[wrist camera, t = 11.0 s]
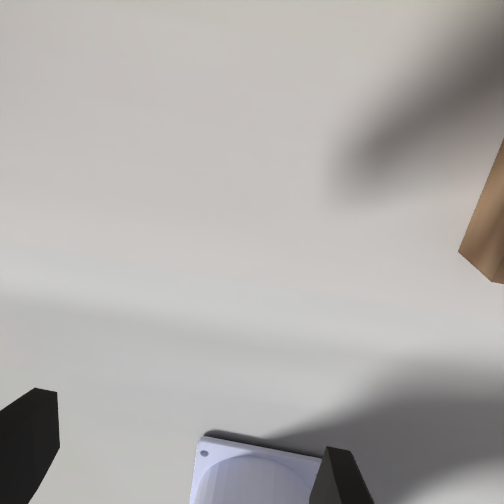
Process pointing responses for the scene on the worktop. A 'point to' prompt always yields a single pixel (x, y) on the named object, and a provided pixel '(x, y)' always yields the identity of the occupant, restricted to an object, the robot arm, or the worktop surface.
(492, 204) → the brown wooden frame
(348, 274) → the worktop surface
